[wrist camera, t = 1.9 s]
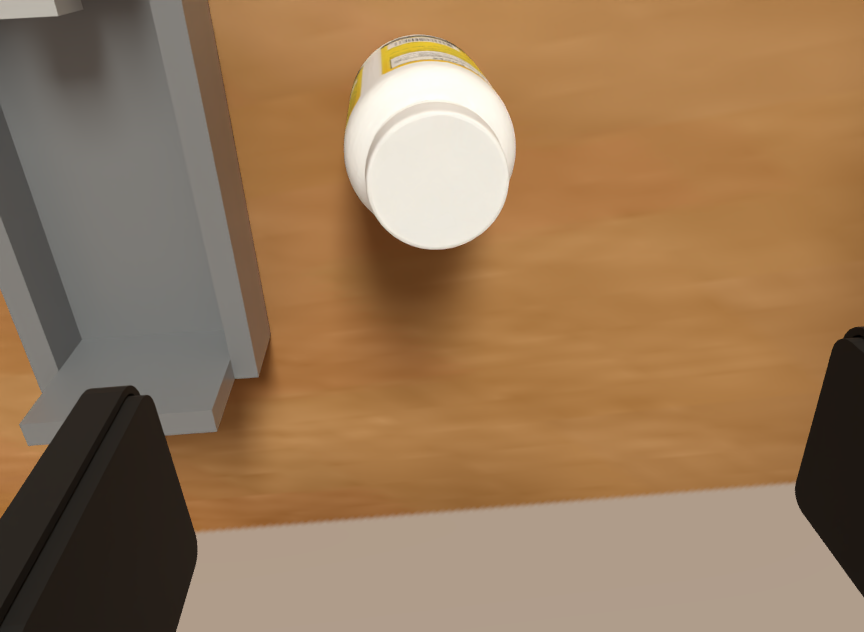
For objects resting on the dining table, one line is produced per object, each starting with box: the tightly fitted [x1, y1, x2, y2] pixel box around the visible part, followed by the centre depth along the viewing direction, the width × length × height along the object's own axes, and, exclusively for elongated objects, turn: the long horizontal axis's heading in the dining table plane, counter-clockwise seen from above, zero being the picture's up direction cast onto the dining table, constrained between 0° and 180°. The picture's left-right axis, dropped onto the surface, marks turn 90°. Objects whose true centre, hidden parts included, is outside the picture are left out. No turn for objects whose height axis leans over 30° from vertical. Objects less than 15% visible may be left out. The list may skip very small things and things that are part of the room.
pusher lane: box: [0, 0, 271, 446], centre depth 24 cm, size 20×9×7 cm, turn 3°
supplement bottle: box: [344, 35, 516, 250], centre depth 23 cm, size 5×5×10 cm
